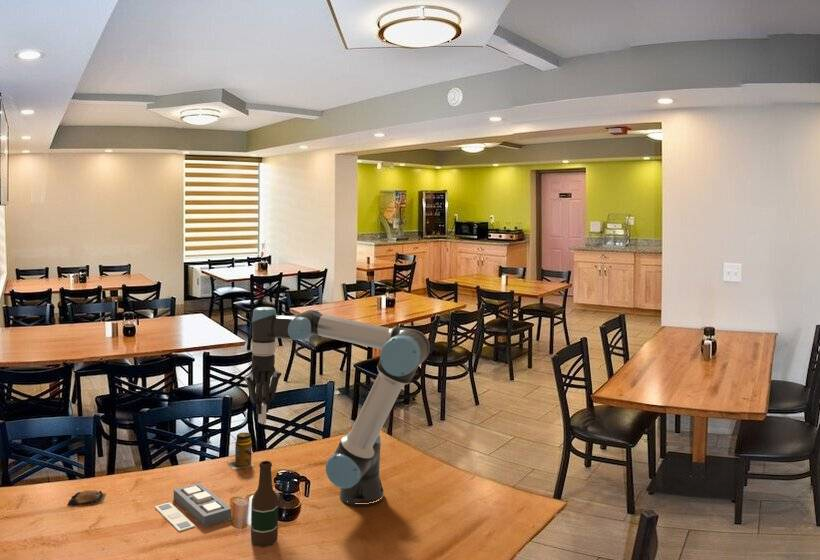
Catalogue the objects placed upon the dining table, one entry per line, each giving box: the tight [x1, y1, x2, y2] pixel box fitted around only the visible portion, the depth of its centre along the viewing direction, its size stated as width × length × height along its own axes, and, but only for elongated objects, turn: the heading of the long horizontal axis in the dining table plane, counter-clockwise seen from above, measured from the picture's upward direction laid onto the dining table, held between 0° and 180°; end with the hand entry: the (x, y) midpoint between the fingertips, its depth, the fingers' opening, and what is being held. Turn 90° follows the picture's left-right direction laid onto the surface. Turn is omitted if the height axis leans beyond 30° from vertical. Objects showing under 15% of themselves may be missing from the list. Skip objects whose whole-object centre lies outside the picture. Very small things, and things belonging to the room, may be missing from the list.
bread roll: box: [67, 489, 107, 507], centre depth 206 cm, size 11×8×4 cm
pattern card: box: [154, 502, 196, 533], centre depth 197 cm, size 20×5×1 cm, turn 42°
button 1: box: [183, 486, 202, 496], centre depth 209 cm, size 4×4×2 cm
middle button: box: [192, 491, 211, 504], centre depth 203 cm, size 4×4×2 cm
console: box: [173, 482, 233, 528], centre depth 203 cm, size 24×9×4 cm, turn 42°
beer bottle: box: [250, 460, 279, 548], centre depth 184 cm, size 8×8×24 cm
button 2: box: [202, 502, 222, 513], centre depth 198 cm, size 4×4×2 cm
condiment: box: [227, 432, 255, 470], centre depth 240 cm, size 7×8×12 cm
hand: (262, 422), depth 211 cm, fingers closed
